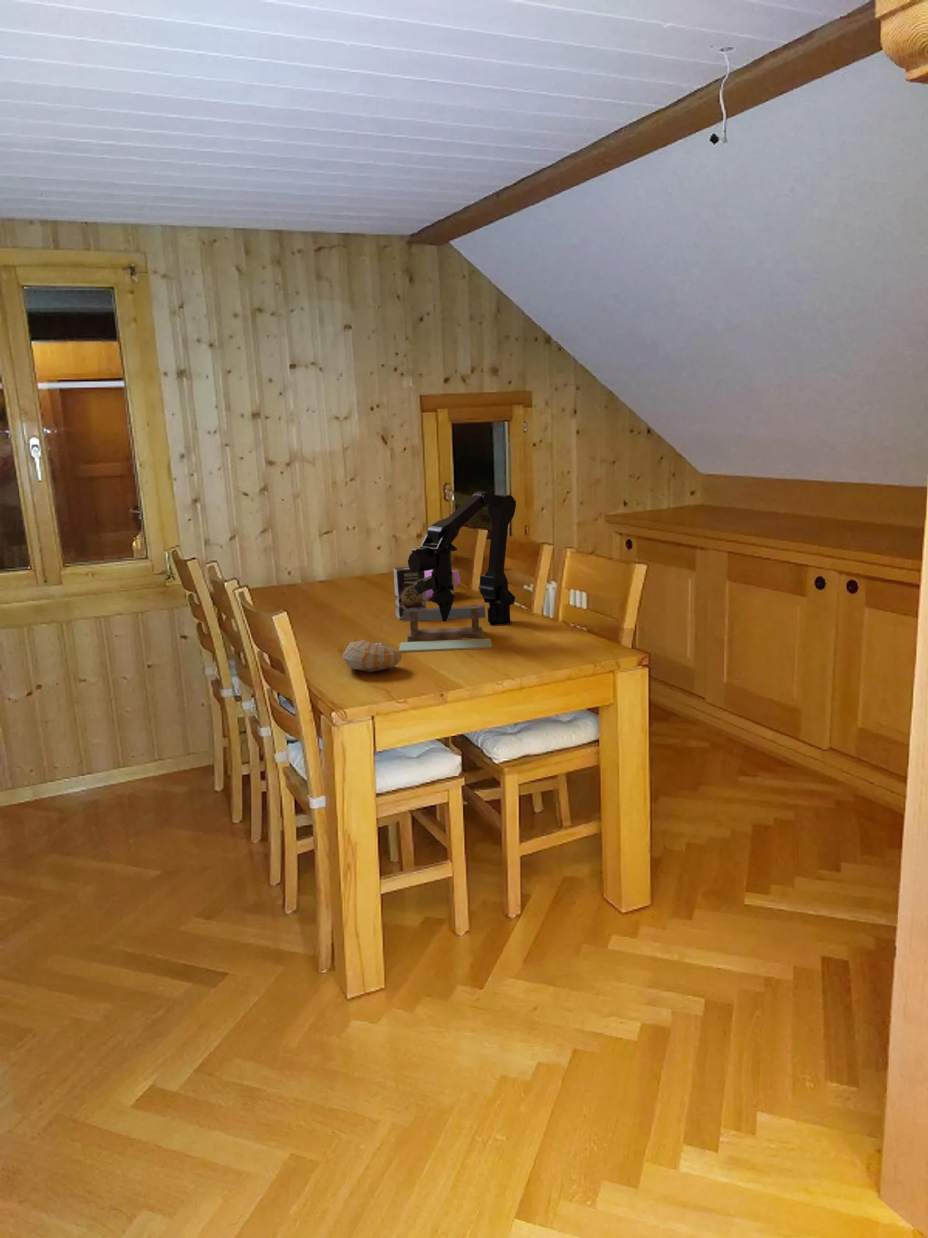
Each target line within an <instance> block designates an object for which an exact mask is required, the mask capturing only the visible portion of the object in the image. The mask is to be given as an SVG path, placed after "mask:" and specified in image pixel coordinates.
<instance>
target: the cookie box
mask: <svg viewBox="0 0 928 1238" xmlns="http://www.w3.org/2000/svg"><path fill="white" fill-rule="evenodd" d="M424 578H425V573H424V571H423V572H418V573H413V572H412V571H411V570H410V568H409V566H403V567H402V566H401V567H393V582H394V602H395V607H394V608H395V617H396V618H397V619H398V620H399V619H401V620H403V609H410V608H427V604H426V603H427V600H426V596H425V592H423V593H422V594H419V595H418V594H417V592H416V590H415V587H414V582H416V581H419V580H421V579H424Z"/></svg>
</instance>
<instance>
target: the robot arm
mask: <svg viewBox="0 0 928 1238" xmlns="http://www.w3.org/2000/svg"><path fill="white" fill-rule="evenodd" d="M516 507H517V501H516V499H515V497H514V496H513V495H512V494H511V495H510V494H499V493H495V494H492V493H489V492H488V491H475V492H474V493H473V494H472V495H471V497H469V499H467V500H466V501H465V502H464V503H463V504H461V505H460V506H459V507H458V508H457V509H456V510H455V511H454V512H452V513H451V514H450V515H449V516H447V517H446V518H443V519H441V520H440V519H439V520H438V521H436V522H435V523H432V524H430V526H429V527H428V529H427V533H426V535H425V537H424V539H423V541H422V543H421V545H420V548H412V549H411V553H410V554H409V556H408V559H407V564H408V567H409V568H410V570H411V571H412V572H413V573H418V572H423V571H428V570H432V573H431V575H432V576H429V577H426V578H424V579H421V580H419V581H416V582H414V587H415V590H416V592H417V594H418V595H419V594H422V593H423V592H425V591H427V590H430V589H432V591H433V592H434V593H433V594H432V597H431V599H432V603H434V604H436V605H438V608H439V609H440V612H441V616H442V622H447V621H448V619H447V618H448V615H449V612H450V610H451V607H453V603H454V602H455V592H454V589H455V587H454V585H453V581H454V580H453V574H452V570H453V560H452V552H456V551H457V550H458V548H457V547H456V546H455V545H454V544H453V542H454V541H455V539H457V537H458V536H459V532H460V530H461V529H462V527H464V526H465V524H468V523H469V521H471V520H472V518H474V517H476V515H477V514H478V513H480V512H481V510H483V509H484V508H487V513H488V515H487V516H488V517H489V518H490V519H489V520H490V522H491V529H490V530H491V533H490V543H489V554H488V565H487V570H486V572H485V574H484V575H483V574H482V575H480V576H479V586H478V589H479V590H480V595H481V596H482V597H483V601H484V603H487V604H488V606H487V608H486V609H487V612H486V613H487V622H488V623H489V625H490V626H497V624H503V625H511V624H512V622H511V605H514V604H515V600H516V596H515V595H514V594H513V593H512V592H511V591H510V590H509V581H508V579H507V576H506V573H505V563H506V551H507V542H508V531H509V524H510V522H511V521H512V519H513V518H514V516H515V512H516ZM451 590H452V591H451ZM508 623H509V624H508ZM510 623H511V624H510Z"/></svg>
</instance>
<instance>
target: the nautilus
mask: <svg viewBox="0 0 928 1238" xmlns="http://www.w3.org/2000/svg"><path fill="white" fill-rule="evenodd" d="M353 640H354V641H352V642H351V641H350V642H349V644H348V645H347V647H346V648H345V650H344V652H343V654H342V660H343V661H344V662H345V664H347V666H349V667H350V668H351V669H352V670H359V671H362V672H368V673H372V672H377V671H382V670H386V669H389V668H391V667H394V666H396V665H398V664H399V663H400V662H401V660H402V656H403V655H402V652H400V651H399V649H396V648H394V647H391V646H390V645H387V644H385V643H384V642H374V643H371V642H369V641H367V640H364V639H358V640H357V639H356V638H355V637H353Z"/></svg>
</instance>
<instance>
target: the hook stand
mask: <svg viewBox="0 0 928 1238" xmlns="http://www.w3.org/2000/svg"><path fill="white" fill-rule="evenodd" d="M470 606H479V605H478V604H474V605H473V604H471V605H470ZM410 609H417V608H410ZM471 610H472V618H471V626H467V627H444V628H422V629H420V628H419V621H417V611H410V621H409V623H410V629H407V631H408V632H407V636H406V637H407V642H420V641H442V640H448V639H453V640H463V639H462V638H475V639H484V632H483V626H480V618H479V612H478V608H474V609H471Z"/></svg>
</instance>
